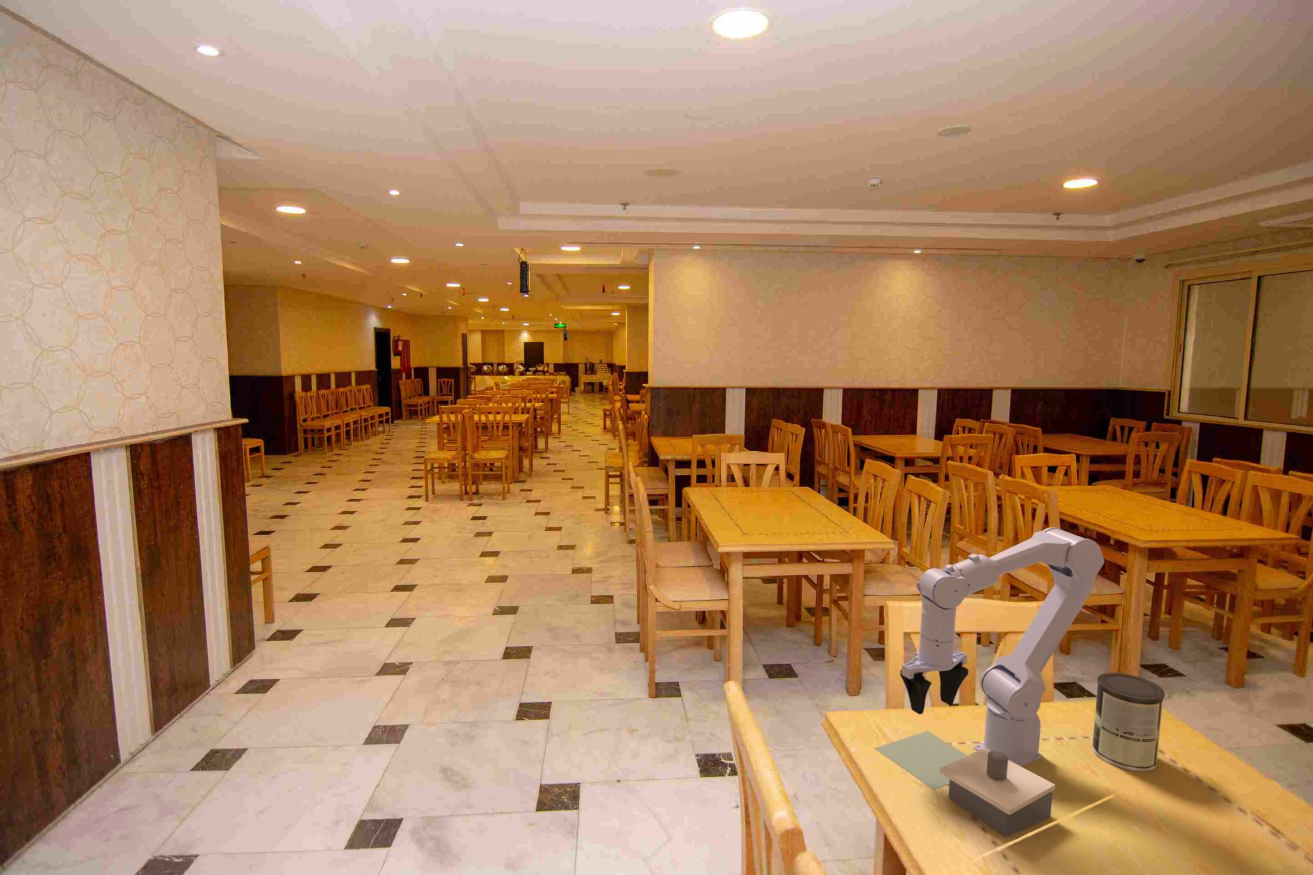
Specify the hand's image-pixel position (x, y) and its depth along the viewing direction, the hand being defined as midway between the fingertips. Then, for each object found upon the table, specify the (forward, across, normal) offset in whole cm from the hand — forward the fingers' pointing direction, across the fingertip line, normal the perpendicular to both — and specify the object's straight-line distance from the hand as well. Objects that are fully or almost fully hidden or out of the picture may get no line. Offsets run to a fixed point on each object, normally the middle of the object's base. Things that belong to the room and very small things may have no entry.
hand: (931, 707), depth 127 cm
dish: (+10, +1, +15) cm, 18 cm away
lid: (+6, +1, +14) cm, 16 cm away
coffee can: (+10, -34, +15) cm, 39 cm away
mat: (+10, 0, 0) cm, 10 cm away
